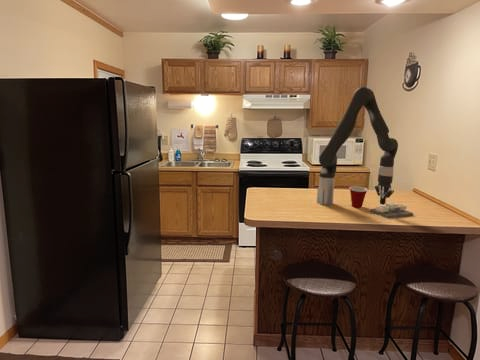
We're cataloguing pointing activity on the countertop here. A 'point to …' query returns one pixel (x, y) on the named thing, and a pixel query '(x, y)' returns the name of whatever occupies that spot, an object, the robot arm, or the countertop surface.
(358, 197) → the plastic cup
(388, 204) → the key
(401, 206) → the key
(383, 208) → the key
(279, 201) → the countertop surface
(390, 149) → the robot arm
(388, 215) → the keypad board
